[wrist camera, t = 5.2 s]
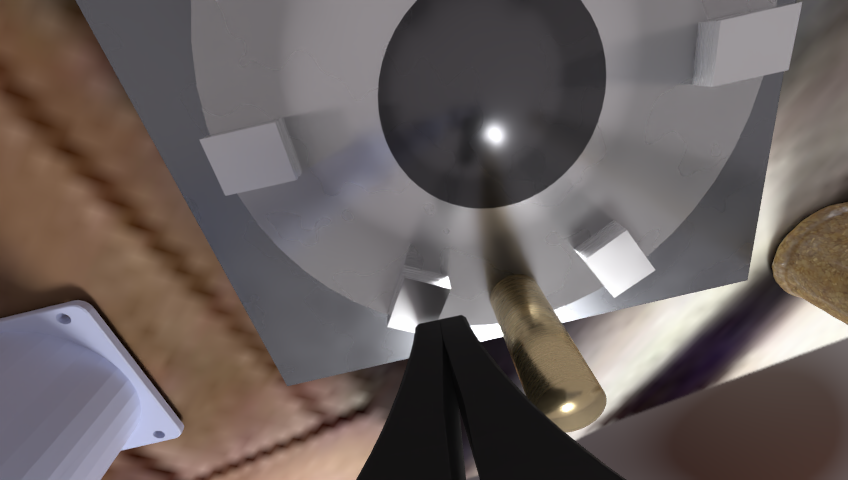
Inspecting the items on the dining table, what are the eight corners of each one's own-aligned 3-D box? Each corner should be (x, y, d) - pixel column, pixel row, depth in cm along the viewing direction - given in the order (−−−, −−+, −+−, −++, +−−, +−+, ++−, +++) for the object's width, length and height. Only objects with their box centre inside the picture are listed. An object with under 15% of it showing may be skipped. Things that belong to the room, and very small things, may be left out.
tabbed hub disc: (678, 241, 15) (878, 375, 9) (323, 317, 15) (276, 496, 9) (736, -309, 9) (1580, -1194, 2) (131, -157, 9) (-429, -603, 3)
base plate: (292, 369, 18) (286, 387, 17) (-36, -257, 9) (-90, -295, 8) (728, 268, 17) (749, 281, 16) (845, -528, 8) (907, -607, 7)
